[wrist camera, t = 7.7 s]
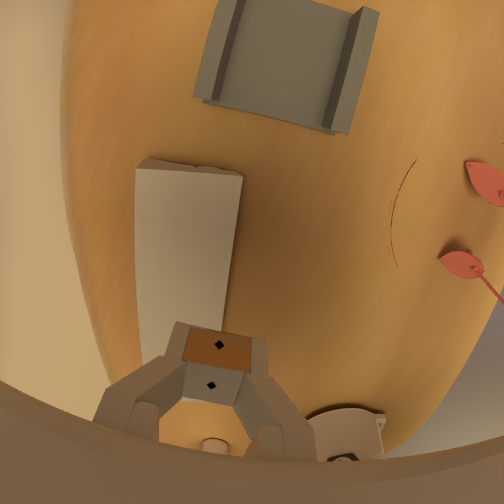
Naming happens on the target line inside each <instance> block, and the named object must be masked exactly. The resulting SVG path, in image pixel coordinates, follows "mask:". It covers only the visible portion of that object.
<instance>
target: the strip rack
mask: <svg viewBox="0 0 504 504" xmlns="http://www.w3.org/2000/svg"><path fill="white" fill-rule="evenodd" d="M379 14H380V12H378V11H376V10H373V9H371V8H368V7H366V6H362V7H361V8H360V9H359V10H358V11H357V12H356V13H355V14H354V15H353V14H350V13H348V12H345V11H342V10H339V9H336V8H333V7H330V6H326V5H323V4H320V3H316V2H313V1H309V0H219V1H218V4H217V7H216V10H215V14H214V17H213V21H212V24H211V27H210V31H209V35H208V38H207V42H206V46H205V49H204V53H203V57H202V61H201V65H200V69H199V73H198V77H197V81H196V85H195V90H194V94H193V97H197V98H203V102H202V103H207V104H212V105H218V106H223V107H228V108H233V109H237V110H242V111H247V112H251V113H255V114H260V115H264V116H268V117H272V118H276V119H280V120H284V121H287V122H291V123H295V124H298V125H302V126H305V127H309V128H312V129H316V130H319V131H322V132H325V133H329V134H332V135H335V132H339V133H342V134H345V135H348V132H349V128H350V125H351V121H352V118H353V114H354V111H355V107H356V104H357V100H358V97H359V93H360V89H361V86H362V82H363V78H364V75H365V71H366V67H367V63H368V59H369V55H370V51H371V47H372V43H373V39H374V35H375V31H376V27H377V22H378V18H379Z"/></svg>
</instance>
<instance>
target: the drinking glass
mask: <svg viewBox="0 0 504 504" xmlns="http://www.w3.org/2000/svg"><path fill="white" fill-rule="evenodd" d="M201 451H205V452H211V453H218V454H224V455H227V452H228V445H227V444H226V443H225V442H224V441H221V440H218V439H207V440H205V441H204V442H203V444H202V449H201Z"/></svg>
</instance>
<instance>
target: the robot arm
mask: <svg viewBox="0 0 504 504" xmlns="http://www.w3.org/2000/svg"><path fill="white" fill-rule="evenodd" d="M182 397H186V398H191V399H197V400H203V401H208V402H213V403H218V404H223V405H228V406H233V408H234V410H235V412H236V414H237V416H238V417H239V419H240V421H241V423H242V425H243V427H244V428H245V430H246V432H247V434H248V436H249V437H250V439H251V441H252V442H251V443H250V445H249V447H248V449H247V450H246V452H245V454H244V456H243V457H239V456H232V455H224V454H218V453H211V452H205V451H200V450H194V449H189V448H184V447H179V446H175V445H170V444H166V443H162V442H159V419H160V418H161V417H162V416H163V415H164V414H165V413H166V412H167V411H169V410H170V409H171V408H172V407H173V406H174V405H175V404H176V403H177V402H178V401H179V400H181V399H182ZM386 420H387V419H386V415H384V414H374V413H371V412H369V411H367V410H364V409H358V408H344V409H337V410H332V411H328V412H325V413H322V414H319V415H317V416H315V417H313V418H311V419H309V420H308V421H307V420H306V418H305V417H304V416H303V415H302V413H301V412H300V411H299V410H298V409H297V407H296V406H295V405H294V404H293V402H292V401H291V400H290V399H289V397H288V396H287V395H286V394H285V392H284V391H283V390H282V389H281V387H280V386H279V385H278V384H277V382H276V381H275V380H274V379H273V377H268V353H267V340H266V339H261V338H255V337H248V336H242V335H237V334H232V333H226V332H221V331H216V330H212V329H208V328H204V327H199V326H195V325H190V324H186V323H182V322H178V321H176V322H175V324H174V327H173V330H172V333H171V336H170V339H169V342H168V345H167V348H166V351H165V354H164V356H161V355H159V356H157V357H156V358H154V359H153V360H151V361H150V362H148V363H146V364H145V365H143V366H142V367H140V368H139V369H137V370H135V371H134V372H132V373H131V374H129V375H127V376H126V377H124V378H123V379H121V380H119V381H118V382H116V383H115V384H113V385H111V386H110V387H108V388H107V389H106V390H105V392H104V394H103V397H102V400H101V402H100V404H99V406H98V409H97V411H96V414H95V416H94V419H93V421H92V422H91V421H89V420H86V419H83V418H80V417H78V416H75V415H72V414H70V413H68V412H65V411H63V410H60V409H58V408H56V407H53V406H51V405H49V404H46V403H44V402H42V401H40V400H38V399H36V398H34V397H31V396H29V395H27V394H25V393H23V392H21V391H19V390H17V389H15V388H13V387H11V386H10V385H8V384H6V383H4V382H2V381H1V380H0V504H504V436H500V437H497V438H493V439H490V440H486V441H482V442H479V443H475V444H471V445H466V446H462V447H458V448H453V449H449V450H443V451H438V452H433V453H426V454H421V455H413V456H406V457H397V458H388V459H381V458H382V456H383V455H384V450H383V444H382V439H381V432H382V430H383V427H384V425H385V423H386Z"/></svg>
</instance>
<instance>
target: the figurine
mask: <svg viewBox="0 0 504 504" xmlns="http://www.w3.org/2000/svg"><path fill="white" fill-rule="evenodd" d="M502 143H503V142H502ZM503 144H504V143H503ZM416 160H417V159H416ZM415 162H416V161H415ZM415 162H414V163H415ZM414 163H413V165H414ZM413 165H412V166H413ZM412 166H411V167H412ZM466 167H467V171H468V174H469V176H470V179H471V182H472V185H473V186H474V187H475V189H476V190H477V192H478V193H479V195H480V196H482V197H483V198H484V199H485V200H486V201H488V202H489V203H492V204H494V205H497V206H499V207H503V206H504V176H503V175H502V174H501V173H500V172H499V171H498V170H497V169H495V168H494V167H492V166H490V165H488V164H486V163H480V162H466ZM410 169H411V168H410ZM410 169H409V170H410ZM408 172H409V171H408ZM408 172H407V174H408ZM407 174H406V176H407ZM406 176H405V178H406ZM405 178H404V179H405ZM403 181H404V180H403ZM402 183H403V182H402ZM401 185H402V184H401ZM400 188H401V186H400ZM399 191H400V189H399ZM398 193H399V192H398ZM397 196H398V194H397ZM396 199H397V197H396ZM391 202H392V199H391ZM395 202H396V200H395ZM390 206H391V204H390ZM394 207H395V204H394ZM389 211H390V210H389ZM393 211H394V208H393ZM392 215H393V213H392ZM391 225H392V220H391ZM391 245H392V241H391ZM387 246H388V245H387ZM388 250H389V249H388ZM392 250H393V249H392ZM389 255H390V254H389ZM393 256H394V254H393ZM394 259H395V258H394ZM438 260H439V261H440V262H441V263H442V264H443V265H444V266H445V267H447V268H448V269H449V270H450V271H451V272H452V273H454V274H455V275H457V276H459V277H461V278H465V279H473V278H479V277H480V278H481V279H482V280H483V281H484V282H485V283H486V285H487V286H488V287H489V288H490V289H491V290H492V292H493V293H494V294H495V295H496V296H497V297H498V299H499V300H500V301H501V302H502V304H503V305H504V300H503V299H502V298H501V296H500V295H499V294H498V293H497V292H496V291H495V289H494V288H493V287H492V286H491V285H490V284H489V282H488V281H487V280H486V279H485V278H484V277H483V276H482V275H481V274H482V273H483V272H484V270H483V268H484V267H483V265H482V263H481V262H480V260H479V259H478V258H476V257H474V256H473V254H472V251H471V250H469V251H468V252H465V251H462V250H457V251H451V252H449V253H447V254H445V255H443V256H442V257H441V258H439V259H438ZM396 264H397V263H396ZM397 267H398V266H397Z"/></svg>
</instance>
